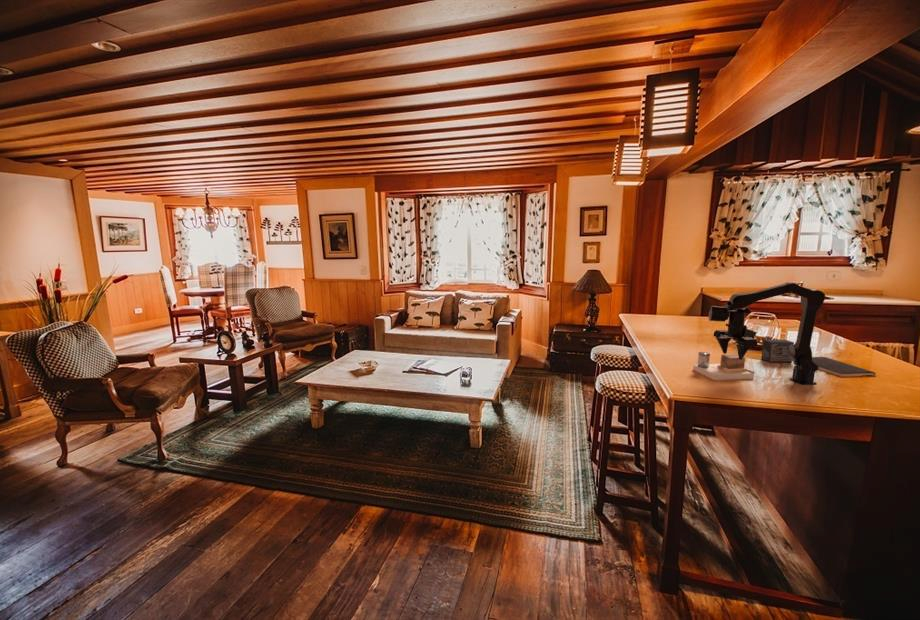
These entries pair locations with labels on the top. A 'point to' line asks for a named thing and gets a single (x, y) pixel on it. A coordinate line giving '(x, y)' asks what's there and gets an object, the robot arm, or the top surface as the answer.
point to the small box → (776, 351)
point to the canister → (703, 359)
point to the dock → (723, 373)
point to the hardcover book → (839, 367)
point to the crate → (732, 363)
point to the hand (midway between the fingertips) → (732, 356)
